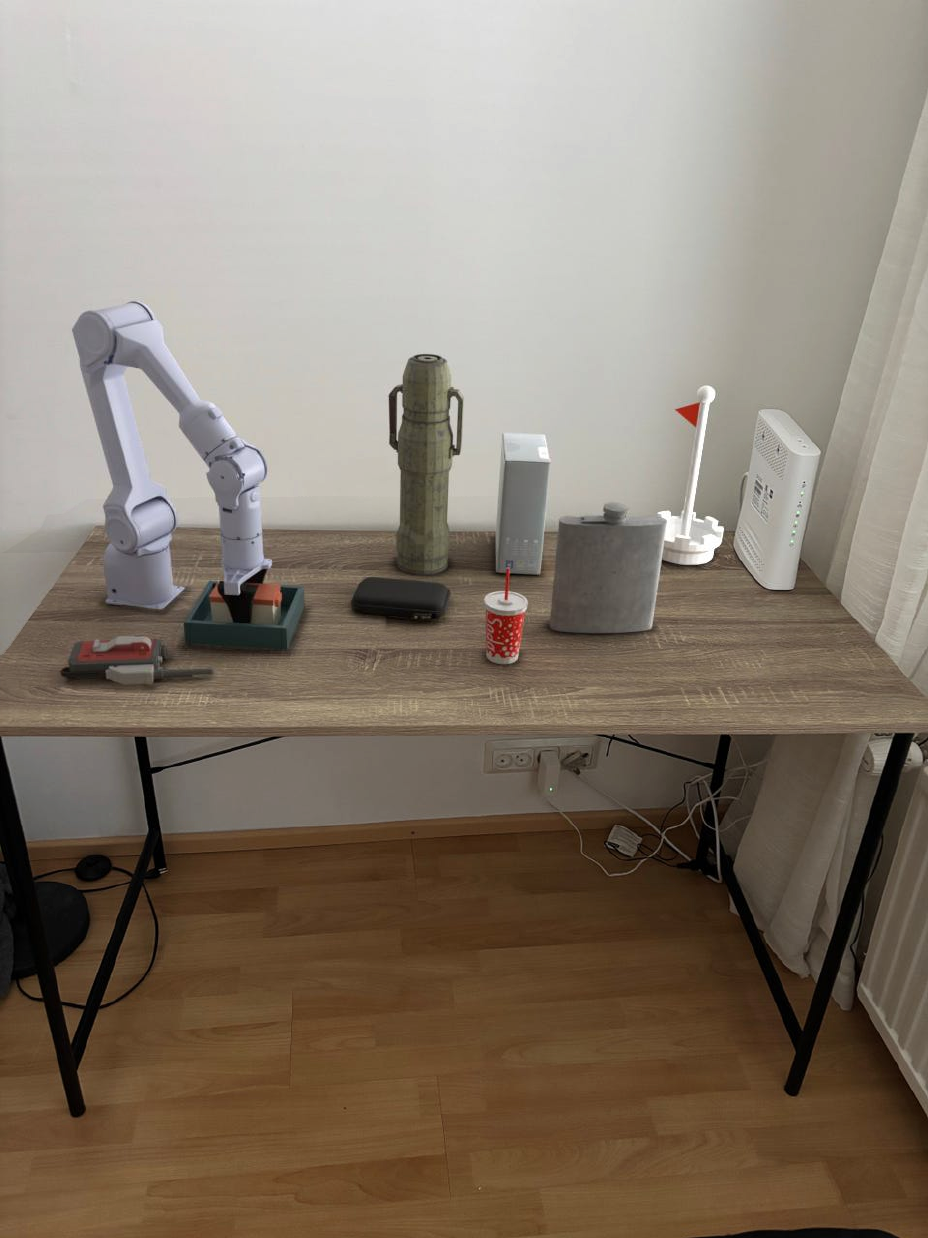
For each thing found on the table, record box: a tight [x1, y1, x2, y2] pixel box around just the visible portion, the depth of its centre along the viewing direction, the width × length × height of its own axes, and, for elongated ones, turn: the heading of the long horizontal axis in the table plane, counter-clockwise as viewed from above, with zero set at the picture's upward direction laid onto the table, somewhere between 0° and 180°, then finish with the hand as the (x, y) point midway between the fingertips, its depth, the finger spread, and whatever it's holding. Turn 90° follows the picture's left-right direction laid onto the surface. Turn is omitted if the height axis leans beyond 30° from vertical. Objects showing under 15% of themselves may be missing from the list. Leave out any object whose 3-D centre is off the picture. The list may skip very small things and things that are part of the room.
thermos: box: [388, 353, 465, 576], centre depth 166 cm, size 9×12×35 cm
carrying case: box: [350, 576, 452, 621], centre depth 158 cm, size 11×3×15 cm
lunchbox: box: [209, 580, 282, 625], centre depth 150 cm, size 10×5×6 cm, turn 87°
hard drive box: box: [495, 432, 552, 576], centre depth 174 cm, size 16×8×20 cm, turn 179°
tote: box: [183, 580, 306, 651], centre depth 151 cm, size 15×14×4 cm
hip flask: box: [549, 501, 667, 634], centre depth 152 cm, size 16×4×20 cm, turn 95°
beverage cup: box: [483, 567, 529, 665], centre depth 144 cm, size 6×6×14 cm
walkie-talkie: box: [60, 635, 215, 685], centre depth 139 cm, size 9×4×20 cm
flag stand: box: [656, 385, 724, 566], centre depth 176 cm, size 13×13×30 cm
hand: (246, 617), depth 151 cm, fingers closed on lunchbox, 5 cm apart
